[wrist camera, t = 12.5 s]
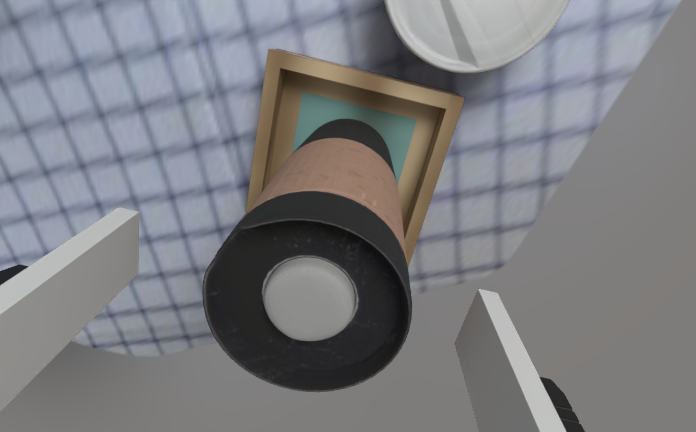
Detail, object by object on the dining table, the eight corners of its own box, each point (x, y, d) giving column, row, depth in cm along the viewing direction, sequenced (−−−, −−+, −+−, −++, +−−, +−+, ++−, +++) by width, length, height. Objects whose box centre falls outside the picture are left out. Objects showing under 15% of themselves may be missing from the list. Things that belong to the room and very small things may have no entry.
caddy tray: (254, 214, 36) (243, 228, 33) (278, 48, 30) (268, 49, 28) (405, 250, 36) (408, 267, 33) (457, 93, 31) (465, 98, 28)
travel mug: (396, 203, 33) (419, 394, 15) (306, 209, 34) (223, 397, 16) (391, 110, 31) (412, 205, 12) (293, 118, 31) (172, 220, 13)
